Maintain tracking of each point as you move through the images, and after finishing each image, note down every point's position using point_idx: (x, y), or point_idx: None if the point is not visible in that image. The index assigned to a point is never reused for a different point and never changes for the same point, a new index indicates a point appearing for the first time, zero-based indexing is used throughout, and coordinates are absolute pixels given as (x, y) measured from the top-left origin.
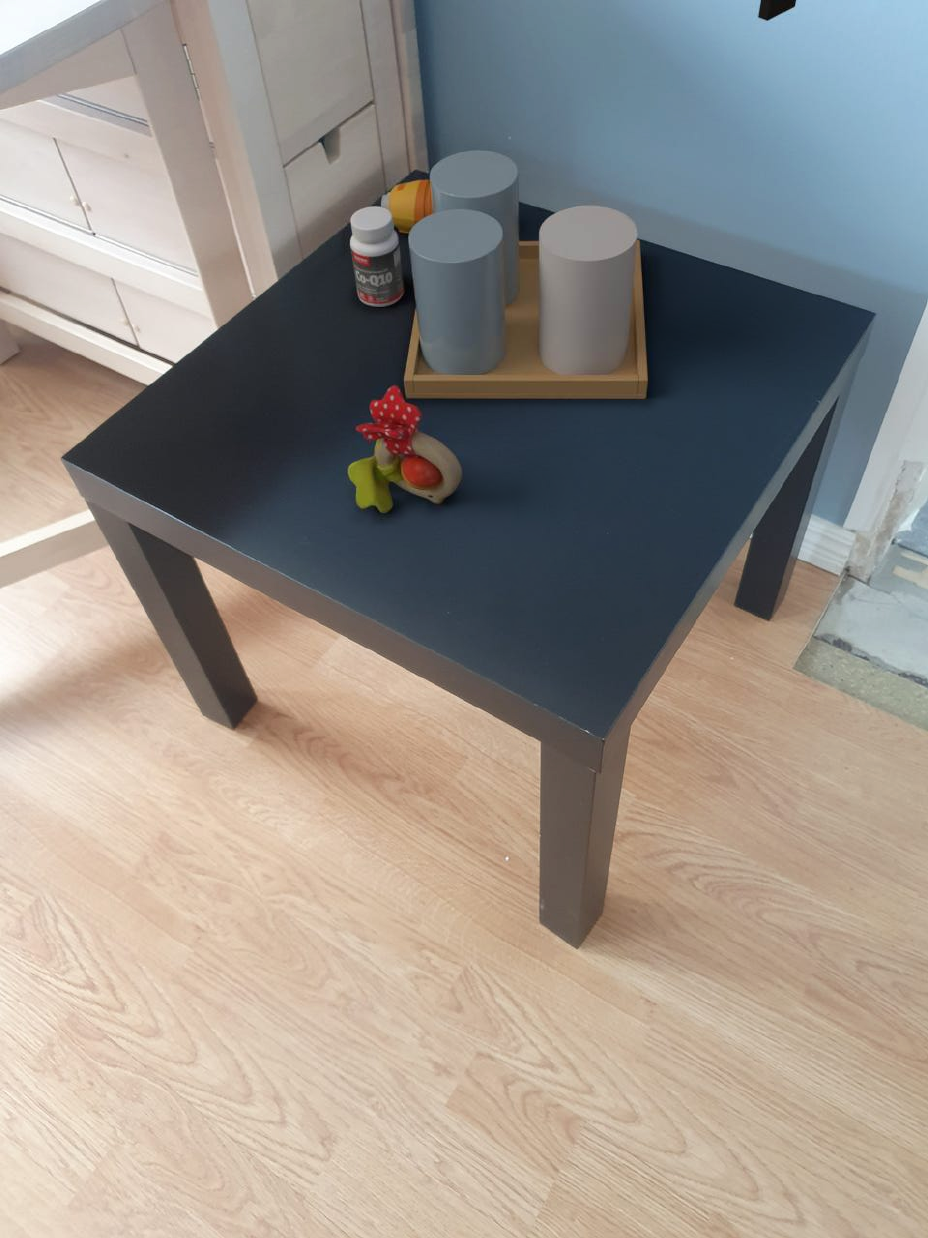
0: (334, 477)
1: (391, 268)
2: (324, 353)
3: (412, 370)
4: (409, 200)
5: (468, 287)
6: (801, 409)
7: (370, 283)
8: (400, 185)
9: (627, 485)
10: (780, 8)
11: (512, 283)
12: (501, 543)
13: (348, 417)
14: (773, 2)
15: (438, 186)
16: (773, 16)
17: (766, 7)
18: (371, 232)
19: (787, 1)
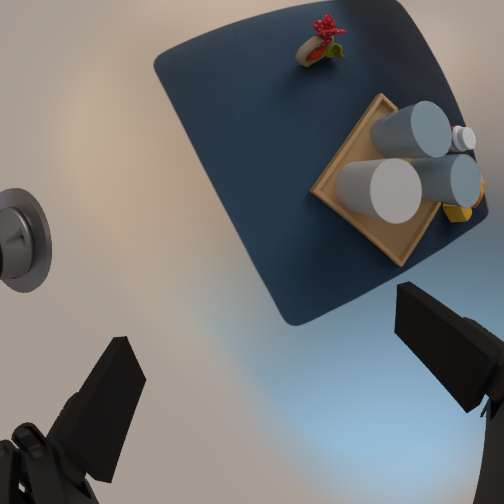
0: (343, 42)
1: None
2: (418, 91)
3: (385, 100)
4: None
5: (401, 117)
6: (253, 255)
7: None
8: (483, 185)
9: (259, 140)
10: (399, 308)
11: None
12: (262, 70)
13: (376, 69)
14: (406, 297)
15: (466, 156)
16: (397, 295)
17: (408, 289)
18: (461, 130)
19: (400, 322)
